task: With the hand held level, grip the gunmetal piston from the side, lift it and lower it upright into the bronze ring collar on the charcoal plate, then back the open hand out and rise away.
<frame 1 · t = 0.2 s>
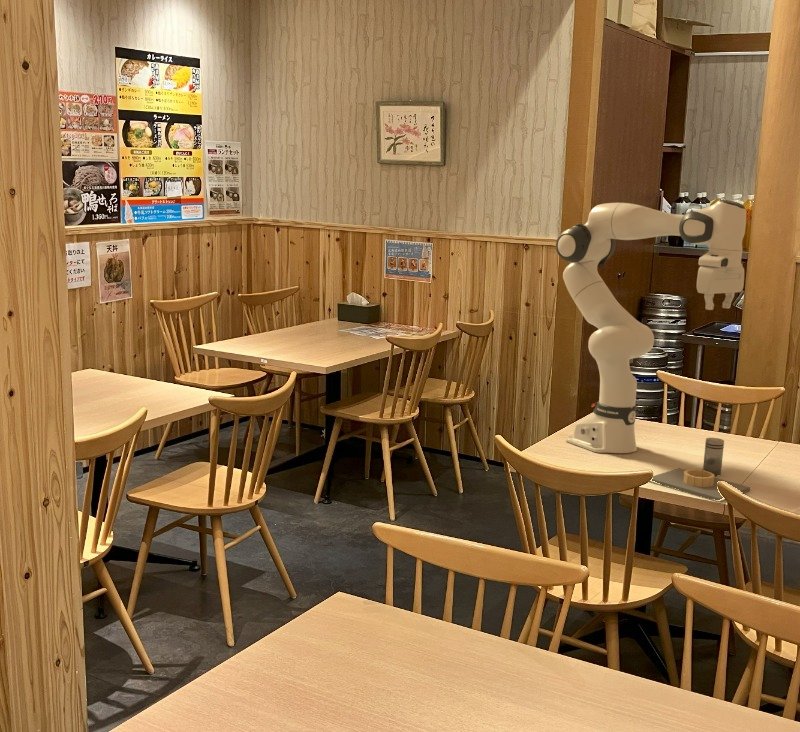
hand: (717, 308, 272), 47 cm above the table, tool pointing down, fingers open, 8 cm apart
piston: (711, 473, 278), on the table
collar plate: (698, 485, 266), on the table
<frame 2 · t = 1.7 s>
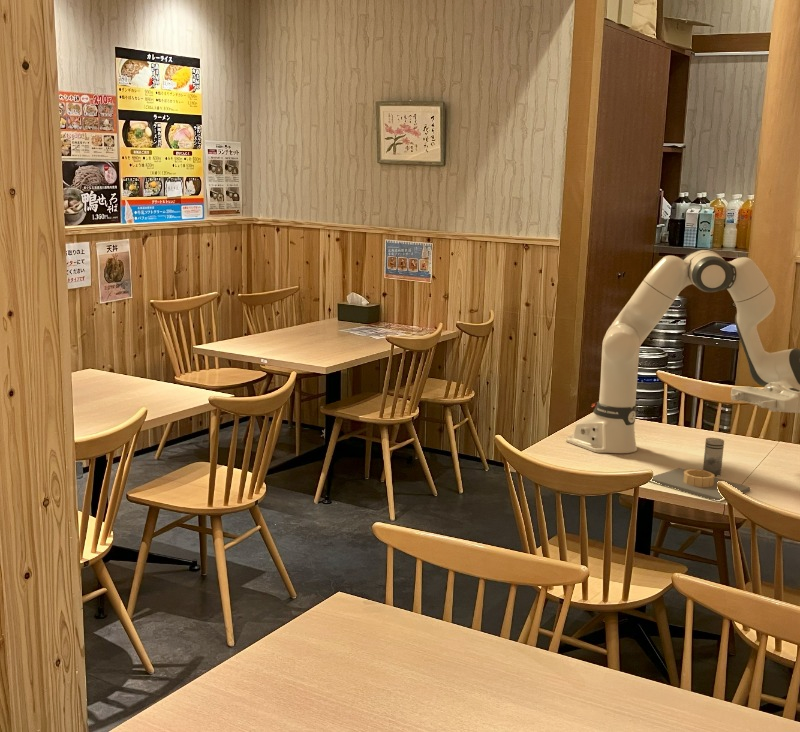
hand: (746, 401, 281), 20 cm above the table, tool horizontal, fingers open, 8 cm apart
nothing on the table moved.
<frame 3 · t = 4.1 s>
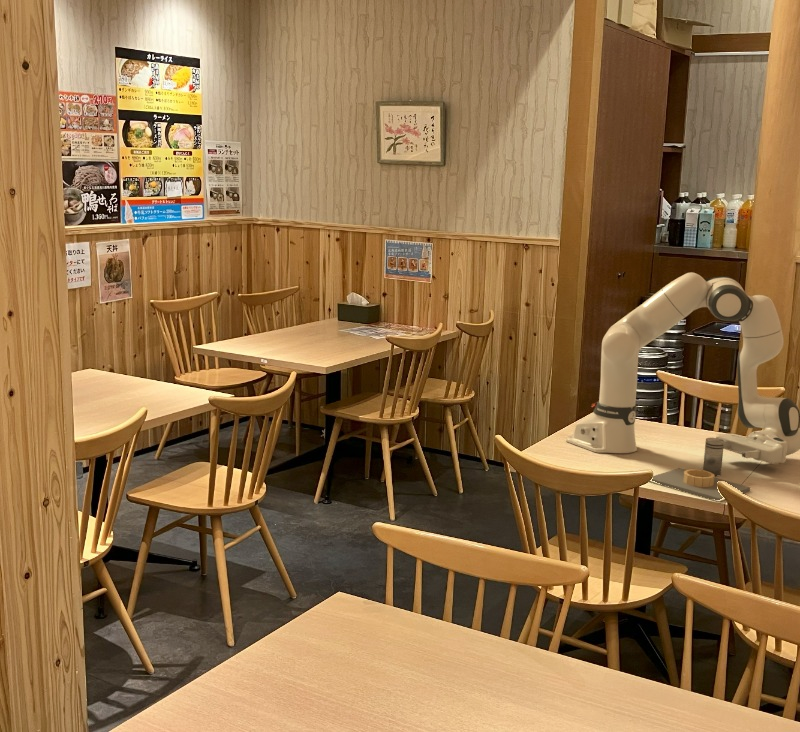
hand: (730, 450, 281), 6 cm above the table, tool horizontal, fingers open, 8 cm apart
nothing on the table moved.
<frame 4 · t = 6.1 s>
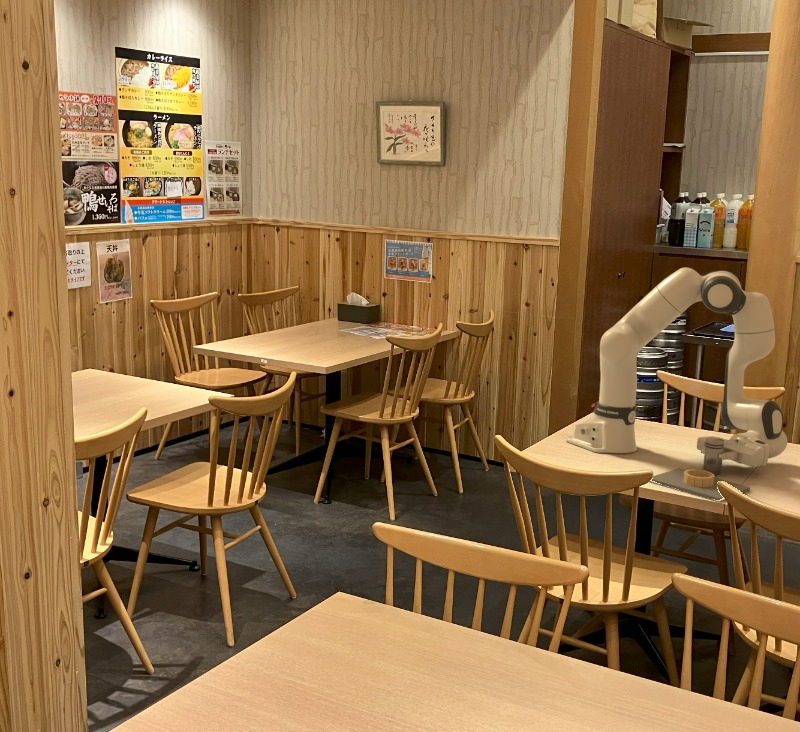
hand: (711, 453, 277), 6 cm above the table, tool horizontal, fingers closed on piston, 5 cm apart
piston: (711, 473, 278), on the table, touching gripper
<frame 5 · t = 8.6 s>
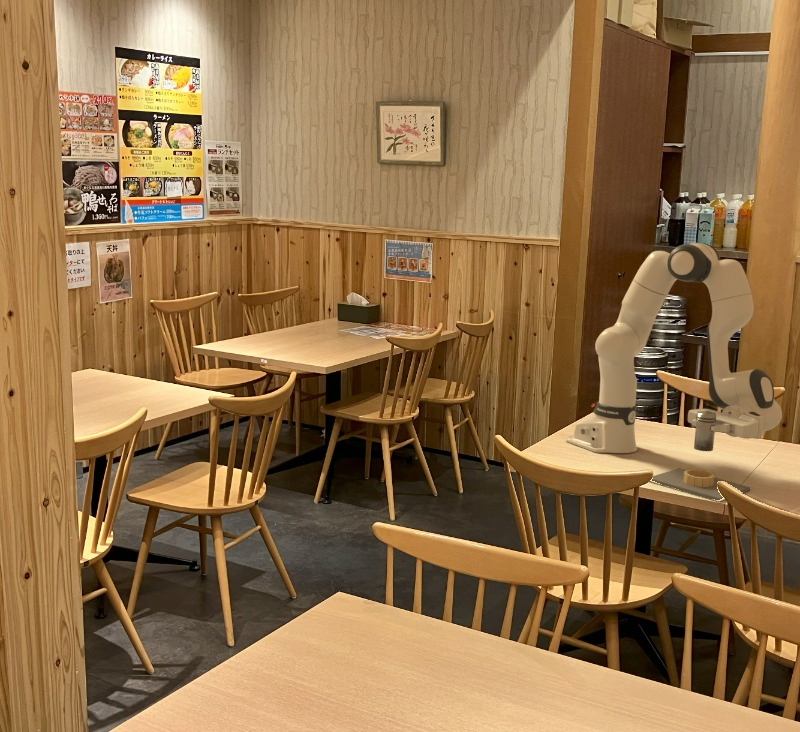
hand: (703, 425, 263), 17 cm above the table, tool horizontal, fingers closed on piston, 5 cm apart
piston: (703, 448, 265), point 10 cm above the table, touching gripper
when the fingers open (8 cm above the table, at t = 11.2 s): piston stays where it is, resting on collar plate.
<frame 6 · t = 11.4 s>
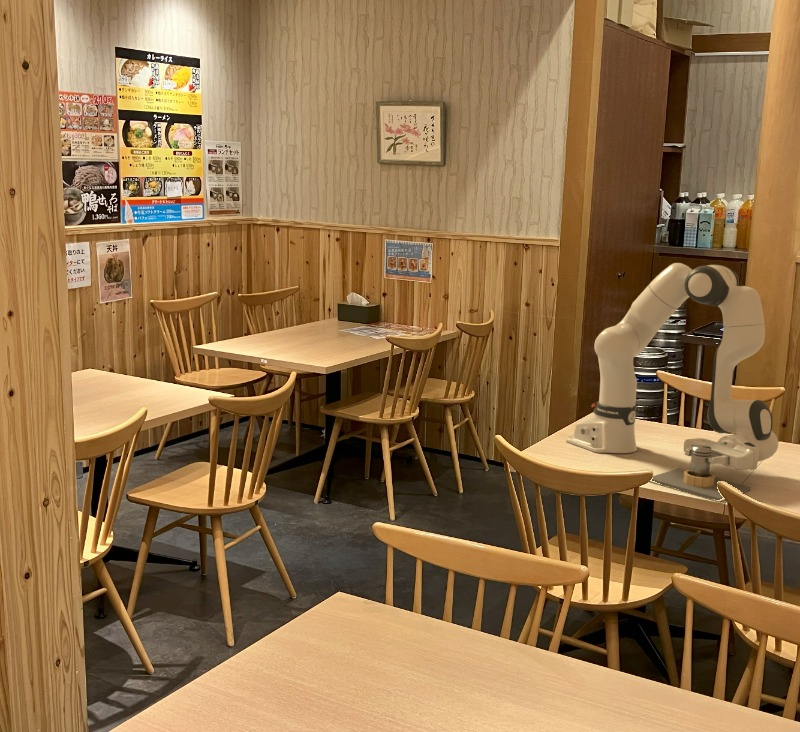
hand: (698, 456, 264), 8 cm above the table, tool horizontal, fingers open, 7 cm apart
piston: (698, 482, 266), point 1 cm above the table, touching collar plate
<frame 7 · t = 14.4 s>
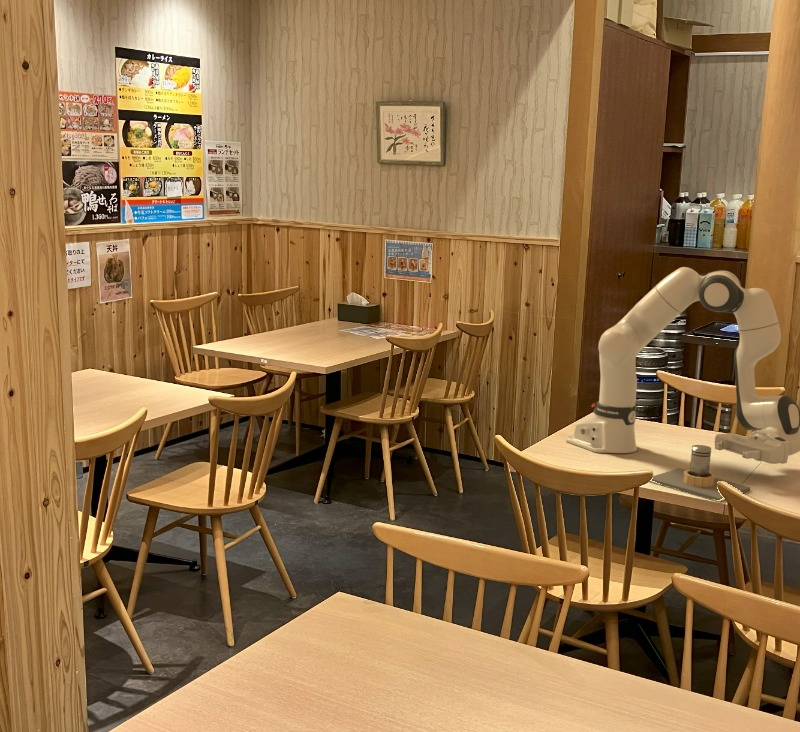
hand: (730, 451, 271), 9 cm above the table, tool horizontal, fingers open, 8 cm apart
nothing on the table moved.
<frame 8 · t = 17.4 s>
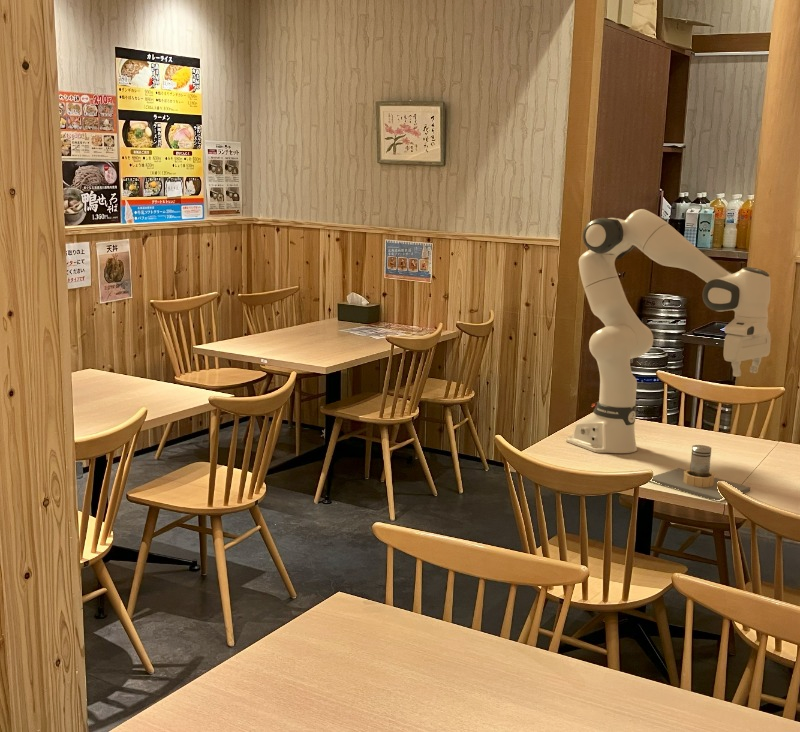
hand: (745, 374, 274), 29 cm above the table, tool pointing down, fingers open, 8 cm apart
nothing on the table moved.
at the end: piston 0.0 cm off-centre on the collar plate, point 1.0 cm above the collar plate's base; piston tilted 0°; the gripper is holding nothing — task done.
